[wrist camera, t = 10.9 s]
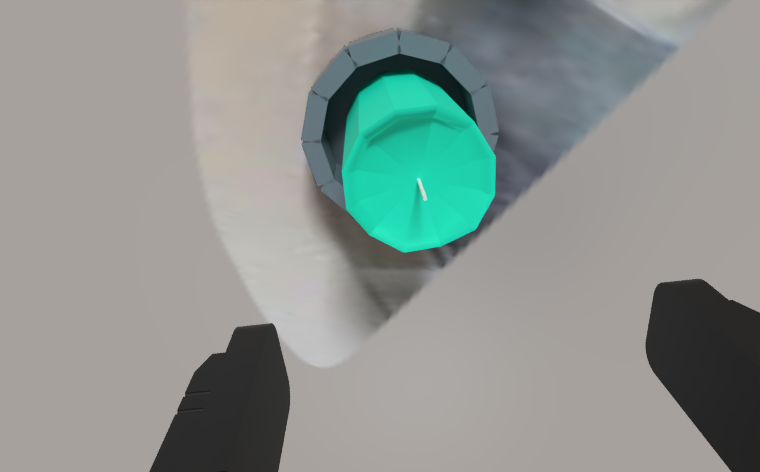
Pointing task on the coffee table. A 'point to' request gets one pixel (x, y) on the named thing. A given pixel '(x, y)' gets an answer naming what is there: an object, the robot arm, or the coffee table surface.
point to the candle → (414, 163)
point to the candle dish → (366, 62)
